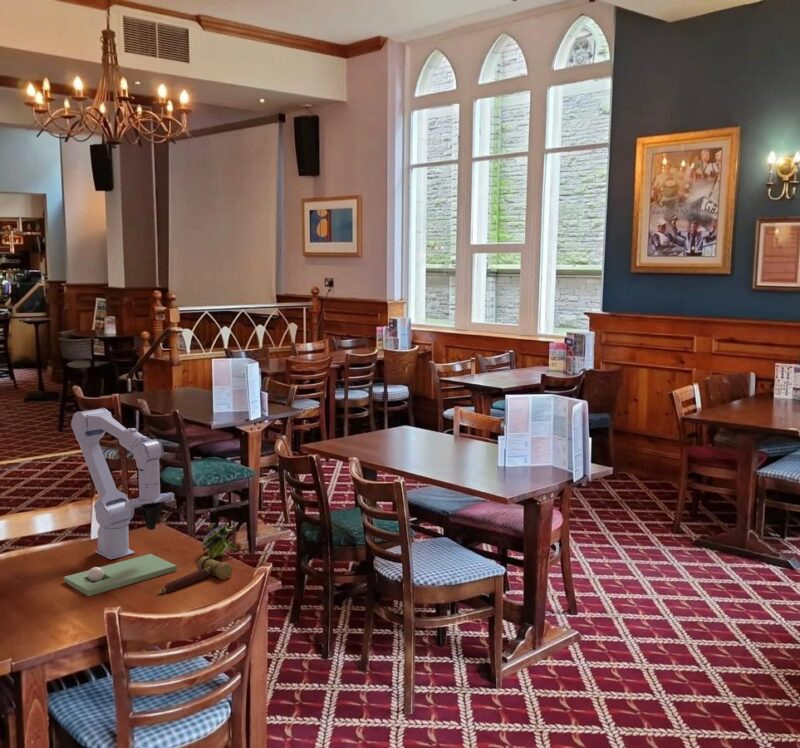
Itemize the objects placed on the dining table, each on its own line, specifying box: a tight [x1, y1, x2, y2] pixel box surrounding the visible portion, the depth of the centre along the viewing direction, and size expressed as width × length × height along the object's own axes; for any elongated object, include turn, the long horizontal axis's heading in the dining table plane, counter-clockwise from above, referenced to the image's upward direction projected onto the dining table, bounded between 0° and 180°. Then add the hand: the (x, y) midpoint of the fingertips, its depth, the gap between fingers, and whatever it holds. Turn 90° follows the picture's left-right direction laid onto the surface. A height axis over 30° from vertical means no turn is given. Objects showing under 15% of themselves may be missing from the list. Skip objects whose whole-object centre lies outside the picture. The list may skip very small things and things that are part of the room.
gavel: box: [158, 555, 234, 595], centre depth 223 cm, size 21×5×10 cm
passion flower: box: [201, 521, 238, 559], centre depth 246 cm, size 11×11×12 cm
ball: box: [88, 566, 104, 582], centre depth 223 cm, size 4×4×4 cm
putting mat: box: [63, 553, 178, 597], centre depth 228 cm, size 14×26×2 cm, turn 137°
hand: (150, 528), depth 236 cm, fingers closed
